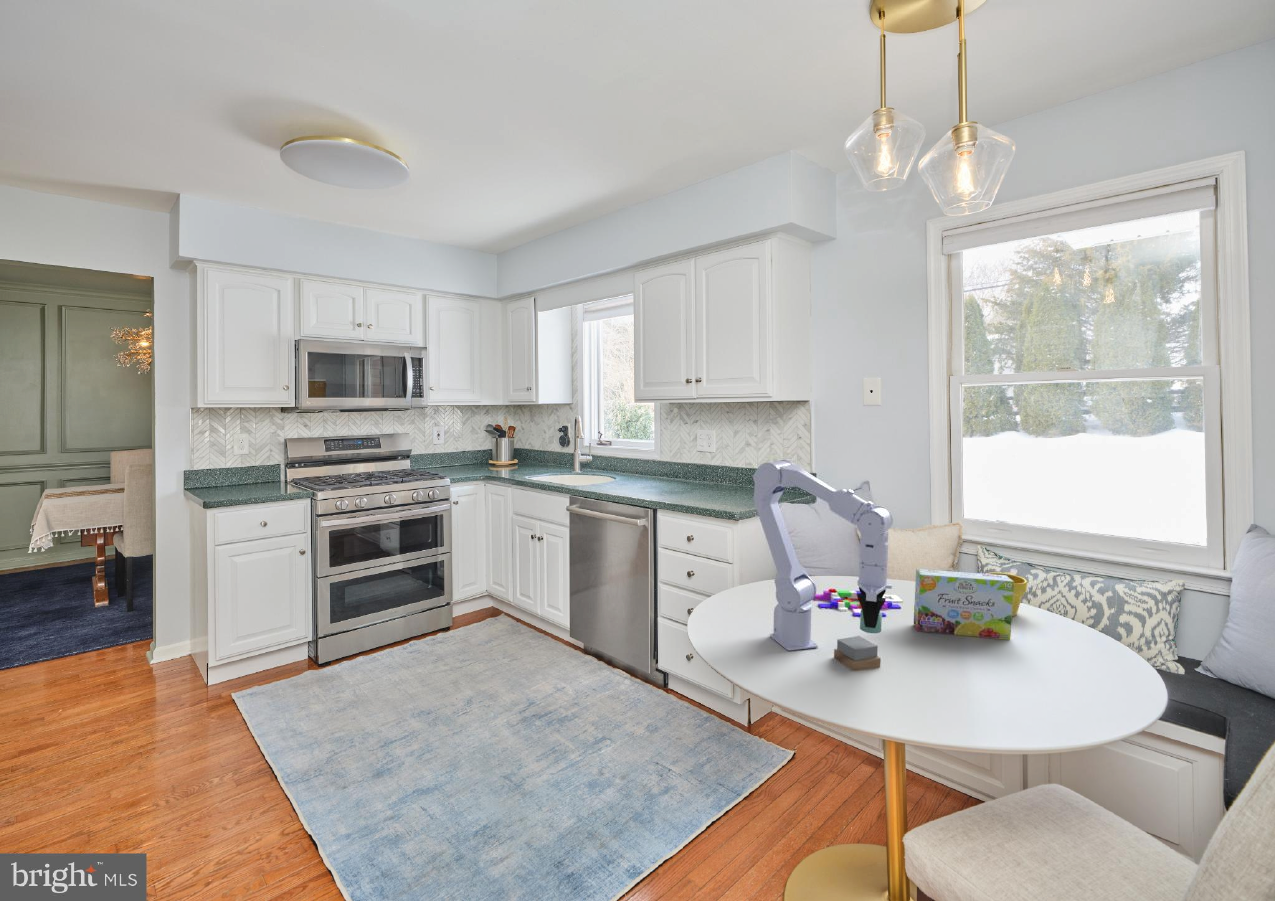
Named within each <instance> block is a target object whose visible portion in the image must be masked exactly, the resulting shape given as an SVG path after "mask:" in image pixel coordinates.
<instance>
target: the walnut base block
mask: <svg viewBox="0 0 1275 901" xmlns="http://www.w3.org/2000/svg"><path fill="white" fill-rule="evenodd" d="M833 658H834V659H836V660H837V661H838V662H839V663H841V664H842V663H843V664H842V665H843V666H845V667H846V666H847V667H846V668H848V670H850V671H852V672H854V671H861V670H860V669H862V670H867V669H876V668H881V657H879V656H878V655H877V657H874V658H869V659H863V660H857V661H854V660H853V659H851V658H849V657H848V656H846V655H844V654H843V653H841V652H839V651H838V650H837V648H834V650H833ZM853 670H854V671H853Z"/></svg>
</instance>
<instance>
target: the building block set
mask: <svg viewBox="0 0 1275 901" xmlns="http://www.w3.org/2000/svg"><path fill="white" fill-rule="evenodd" d="M858 593H860V594H861V592H860V590H837V589H836V588H828V590H823V593H822V594H820V593H819V594H817V593H816V595H815V597H814V598H813V599H812V600H814V601H829V603H825V602H823V603H819V602H818V604H817V605H818V607H819V609H821V608H826V609H827V608H830V609H831V610H832V609H837V610H838V611H840V612H848V610H849V609H850V610H851V611H852V615H853V616H854V617H855V618H856V617H858V618H860V613H861V609H862V607H861V604H860V602H859V600H858ZM882 598H886V601H885V603H884V604H883V606H882V608H881V610H888V609H891V610H892V609H893V610H895V609H896V610H897V609H898V610H901V609H902V607H901V605H900V604H901V603H904V601H903V600H902V599H901V598H900V597H899V596H898V595H896V594H884V595H883V597H882ZM889 598H890V599H889ZM854 601H855V602H854ZM856 601H857V602H856ZM894 603H895V604H894ZM897 603H898V604H897ZM899 603H900V604H899ZM886 617H887V614H886V613H885V612H882V618H886Z"/></svg>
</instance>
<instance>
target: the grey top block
mask: <svg viewBox="0 0 1275 901" xmlns="http://www.w3.org/2000/svg"><path fill="white" fill-rule="evenodd" d="M836 643H837V644H836V649H837V650H838V651H839V652H841V653H843V654H844V655H846V656H848V657H849V658H851V659H853V660H854V661H857V660H863V659H869V658H874V657H877V656H878V651H879V650H878V649H879V648H878V647H879V646H878V645H877V644H875V643H873V642H871V641H870V640H867V639H865V638H864V637H862V636H860V635H858V636H857V635H856V636H851V637H845V638H839V639H837V642H836Z"/></svg>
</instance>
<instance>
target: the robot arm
mask: <svg viewBox="0 0 1275 901" xmlns="http://www.w3.org/2000/svg"><path fill="white" fill-rule="evenodd" d="M752 479H753V482H754V491H753V503H754V506H755V509H756V512H757V515H758V518H759V521H760V523H761V527H762V529H763V533H764V535H765V538H766V543H767V544H768V547H769V551H770V553H771V557H772V560H773V562H774V566H775V567H776V574H775V577H774V584H775V589H776V590H775V600H776V601H777V604H776V606H775V607H774V609H773V628H772V629H773V630H772V631H773V633H769V636H770V637H771V638H772V639H773V640H774V641H776V642H777V643H778V644H780V646H782V648H784V649H785V650H786V651H797V650H804V649H805V650H806V649H814V648H815V649H816V648H819V645H818V644H817V643H816V642H815V641H813V640H812V639H811V637H812V608H813V607H812V600H814V599H813V598H814V597H815V595H816V594H817V586H816V583H815V582H814V580H813V579H811V577H810V575H809V573H808V570H807V569H806V568H805V567H803V565H802V564H800V562H799V560H798V556H797V554H796V551H795V548H794V545H793V543H792V539H791V537H790V534H789V531H788V528H787V524H786V522H785V519H784V516H783V513H782V510H781V508H780V505H779V500H780V498H781V497H782V494H783V493H784V491H785V490H786V489H787V488H799V489H801V490H803V491H805V492H807V493H809V494H811V495H813V496H814V497H817V498H818V499H820V500H822V501H824V502H825V503H827V504H828V507H829V510H830V511H831V513H834V514H836V515H838V517H841V518H842V519H844V520H845V521H848V522H849V523H850V524H852V525H853V526H856V528H857V529H858V531H859V532H860V543H859V544H860V545H859V563H858V580H857V586H858V589H859V590H858V591H860V592H861V594H860V593H858V600H857V601H858V602H860V604H861V607H862V608H861V609H862V611H863V618H864V624H865V627H869V628H875V627H876V625H877V621H878V616H879V613H880V611H881V610H882V609H881V608H882V606H883V604H884V603H885V601H886V599H887V598H882V597H883V595H886V591H887V589H889V590H890V589H891V590H892V589H893V583H891V582H887V580H888V579H887V578H888V576H887V574H888V558H889V557H888V556H889V531H890V529H891V528H892V526H893V523H894V522H893V521H894V518H893V516H892V514H891V512H890V511H889V510H888V509H886V508H885V507H884V506H883V505H876V506H874V502H872V501H866V500H864V499H863V498H861V497H859V496H858V495H855V491H854V490H852V489H850V488H849V489H845V488H842V489H838V490H836V489H835V488H833V487H831V486H830V485H828V483H825V482H823V481H822V480H820V479H819V478H817V477H816V476H814V475H813V474H811V473H809V472H808V471H806V470H805V469H803V468H802V467H801V466H800V465H798V464H795V463H792V462H791V461H790V460H787V459H781V460H780V459H779V460H778V461H772V462H764V463H762V464H760V465H759V466H758V467H757V468H756V470H755V473H754V474H753V475H752Z"/></svg>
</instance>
